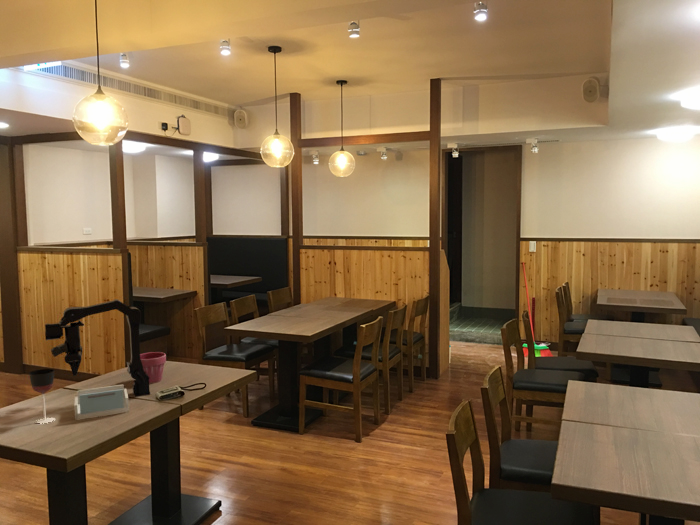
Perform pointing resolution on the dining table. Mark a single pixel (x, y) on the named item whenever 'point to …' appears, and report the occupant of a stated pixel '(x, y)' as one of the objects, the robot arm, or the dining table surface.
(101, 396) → the tailgate
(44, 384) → the wineglass
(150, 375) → the plant pot
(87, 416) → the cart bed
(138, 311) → the robot arm
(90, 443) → the dining table surface
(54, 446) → the dining table surface
